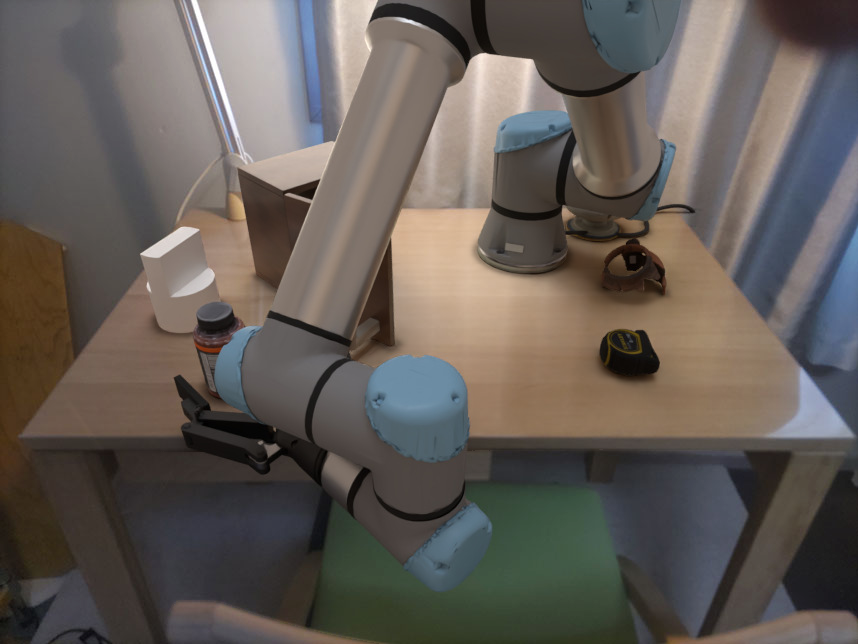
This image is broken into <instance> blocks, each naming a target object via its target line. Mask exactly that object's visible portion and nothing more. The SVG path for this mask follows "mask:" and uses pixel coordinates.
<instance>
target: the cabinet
mask: <svg viewBox="0 0 858 644" xmlns="http://www.w3.org/2000/svg"><path fill="white" fill-rule="evenodd" d="M334 144H335V141H333V140H330V141H327V142H323V143H319V144H316V145H312V146H308V147H305V148H302V149H298V150H294V151H290V152H287V153H283V154H280V155H276V156H272V157H269V158H268V157H267V158H264V159H261V160H258V161H253V162H250V163H246V164H244V165H240V166H236V171H237V176H238V183H239V188H240V193H241V199H242V204H243V210H244V216H245V221H246V226H247V232H248V238H249V243H250V249H251V254H252V260H253V266H254V270H255V275H256V276H257V277H259V278H261V279H262V280H264V281H265V282H266V283H268V284H269V285H270V286H272V287H274V288H275V289H276V290H278V288H279V285H280V283H281V280H282V277H283V275H284V272H285V270H286V267H287V265H288V262H289V259H290V257H291V254H292V251H291V244H290V237H289V230H288V223H287V216H286V208H285V201H284V195H285V194H287V193H291V194H294V195H298V196H301V197H304V198H307V199H310V200H313V198H314V195H315V193H316V190H317V187H318V185H319V182H320V180H321V177H322V175H323V172H324V169H325V167H326V164H327V162H328V159H329V156H330V154H331V151H332V149H333V146H334Z"/></svg>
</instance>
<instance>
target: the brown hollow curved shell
mask: <svg viewBox="0 0 858 644" xmlns="http://www.w3.org/2000/svg"><path fill="white" fill-rule="evenodd" d="M620 255H621V257H622V260H623V262H624V267H625V271H626V272H634V273H631V274H627V275H618V274H615V273H612V272H611V270H610V269H609V267H610V264H611V263H612V261H614V260H615V259H616V258H617V257H619V256H620ZM603 264H604V266H603V269H602V271H601V275H600V283H601V287H602V288H607V289H609V290H611V291H615V292H617V293H620V292H630V291H639V292H642V293H644V292H645V279H646V280H649V281H652V280H653V281H655V282H657V283H659V284H660V286H661V294H662V295H663V296H664V295H666V293H667V292H666V291H667V278H666V268H665V266H664V263H663V261H662V260H661V259H660V257H659V256H658V255H657V254H656V253H654V252H652V251H651V250H649V248H647V247H646V246H644V245H642V244H641V242H640V240H639V238H637V237H636V238H635V237H631V238H629V239H627V240H626V241H625V243H624V244H623V245H619V246H618V247H615V248H614V249H612V250H611V251H610V252H609V253H608V254H607V255H606V256H605V258H604V260H603Z"/></svg>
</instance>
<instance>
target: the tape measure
mask: <svg viewBox="0 0 858 644" xmlns="http://www.w3.org/2000/svg"><path fill="white" fill-rule="evenodd" d="M598 353H599V357H600V360H601V362H602V363H603V364H604V365H605V366H606V368H607V369H609V370H611V371H612V372H614V373H617V374H619V375H623V376H628V377H629V376H630V377H632V376H640V375H654V374H656V373H657V372H658V371H659V368H660V367H661V361H660V358H659V356H658V353H656V350H655V349H654V348H653V345H652V343H651V339H650V337H649V335H648V333H647V332H646V330H644V329H636V330H631V329H628V328H617V329H613V330H610V331H607V332H606V334H605V335H604V336H603V337H602V338H601V341H600V344H599V350H598Z"/></svg>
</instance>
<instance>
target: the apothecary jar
mask: <svg viewBox="0 0 858 644" xmlns="http://www.w3.org/2000/svg"><path fill="white" fill-rule="evenodd" d="M565 207H566V209H567V210H568V211H569V212H570V213H571V214H572V215H574V216H575V217H573V218H570V219H569V220H568V221H567V222H566V224H565V228H566V231H588V233H587V234H584V235H573V236H574V237H576V238H578V239H581V240H586V241H592V242H605V241H611V240H614V239H616V238H618V237H617V234H616V233H621V227H620V225H619V224H618V223H617V222H615V221H616V220H619V219H621V218H622V217H617V216H612V215H608V214H603V213H598V212H594V211H589V210H584V209H580V208H575V207H571V206H565ZM622 219H623V218H622Z"/></svg>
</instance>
